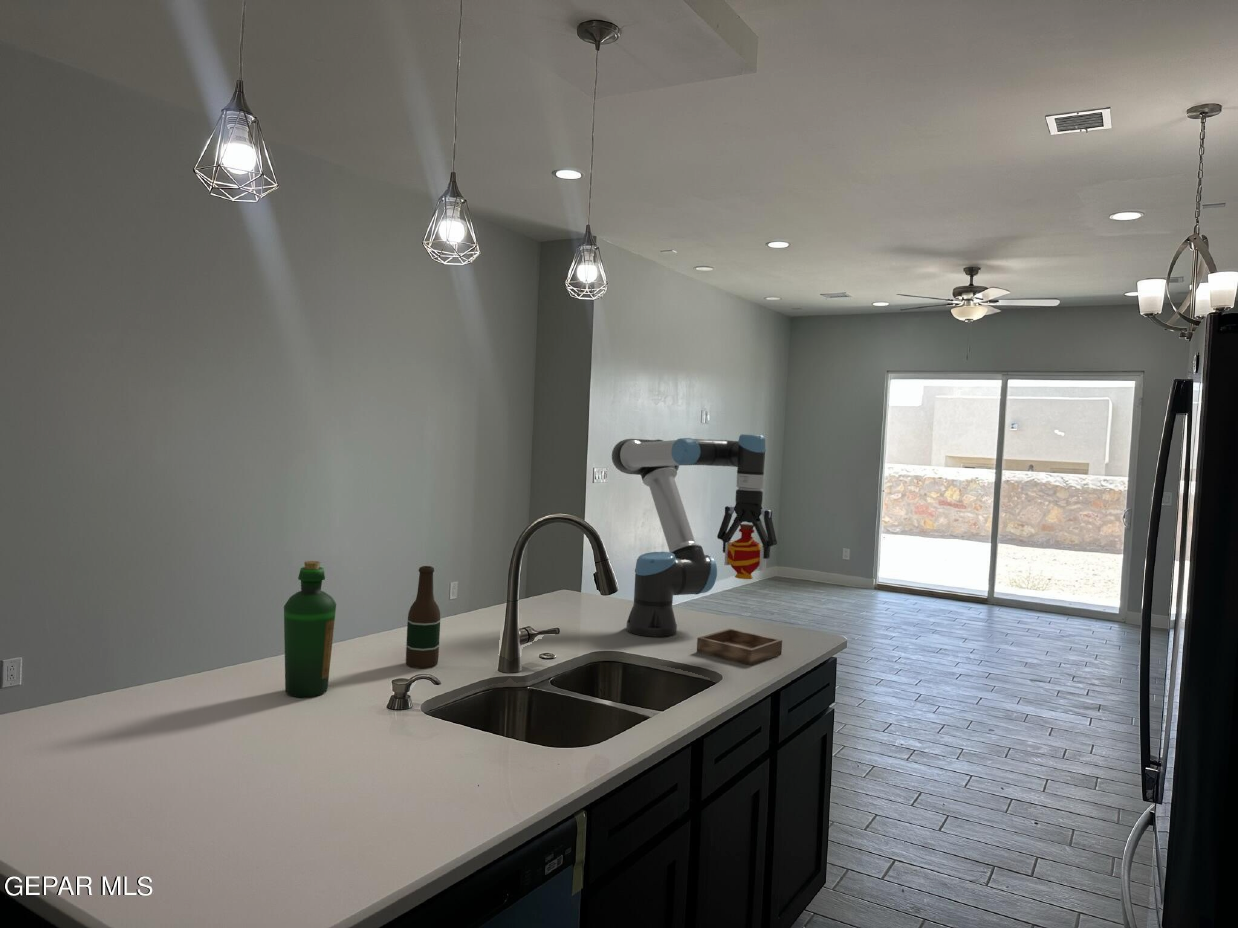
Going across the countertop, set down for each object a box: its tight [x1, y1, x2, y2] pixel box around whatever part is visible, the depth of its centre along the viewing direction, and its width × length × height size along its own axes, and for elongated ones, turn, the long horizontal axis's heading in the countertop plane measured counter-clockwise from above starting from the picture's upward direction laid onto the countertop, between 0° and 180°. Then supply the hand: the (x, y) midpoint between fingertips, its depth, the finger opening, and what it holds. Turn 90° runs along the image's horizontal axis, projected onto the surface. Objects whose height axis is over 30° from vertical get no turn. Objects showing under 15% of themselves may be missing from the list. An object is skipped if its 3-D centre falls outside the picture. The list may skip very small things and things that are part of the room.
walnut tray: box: [696, 628, 783, 666], centre depth 237 cm, size 17×17×4 cm
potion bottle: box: [727, 523, 762, 580], centre depth 243 cm, size 10×10×15 cm
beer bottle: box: [405, 565, 441, 670], centre depth 208 cm, size 8×8×24 cm
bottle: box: [283, 560, 337, 698], centre depth 183 cm, size 11×11×28 cm
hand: (745, 567), depth 243 cm, fingers closed on potion bottle, 10 cm apart
